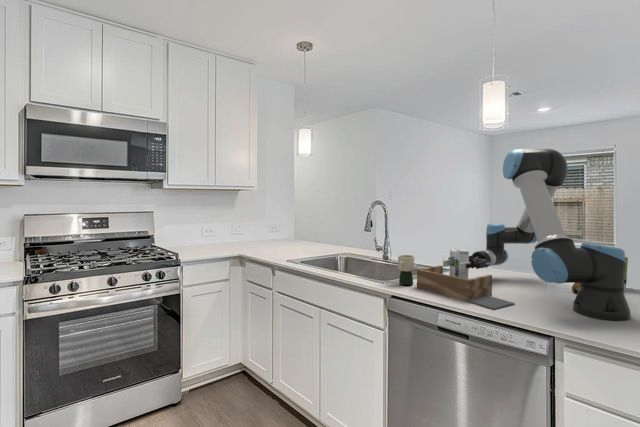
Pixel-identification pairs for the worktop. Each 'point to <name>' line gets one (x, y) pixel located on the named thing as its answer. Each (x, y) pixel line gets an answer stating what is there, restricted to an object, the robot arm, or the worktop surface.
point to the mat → (490, 302)
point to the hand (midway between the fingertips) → (451, 265)
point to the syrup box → (455, 259)
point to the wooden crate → (453, 284)
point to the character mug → (406, 269)
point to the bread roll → (576, 287)
